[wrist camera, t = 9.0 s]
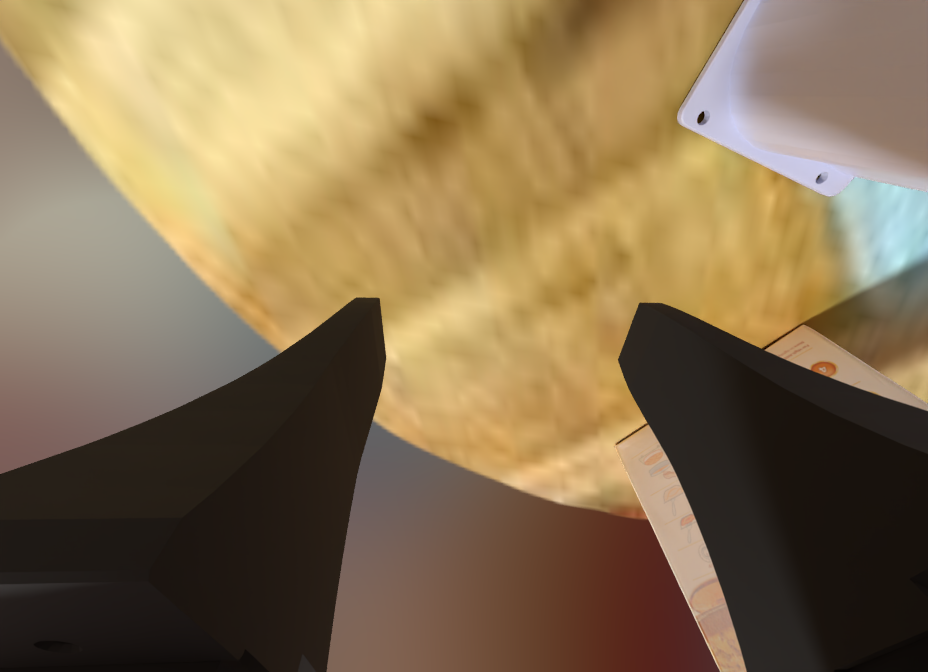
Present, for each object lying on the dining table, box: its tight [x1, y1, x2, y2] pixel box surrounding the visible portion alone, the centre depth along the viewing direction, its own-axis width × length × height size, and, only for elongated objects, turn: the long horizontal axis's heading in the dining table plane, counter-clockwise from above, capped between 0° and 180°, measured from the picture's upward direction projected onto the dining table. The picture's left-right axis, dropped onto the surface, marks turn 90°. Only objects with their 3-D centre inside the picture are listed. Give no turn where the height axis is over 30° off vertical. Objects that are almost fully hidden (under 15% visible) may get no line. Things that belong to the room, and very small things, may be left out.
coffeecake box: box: [615, 325, 928, 672], centre depth 18 cm, size 15×7×20 cm, turn 142°
